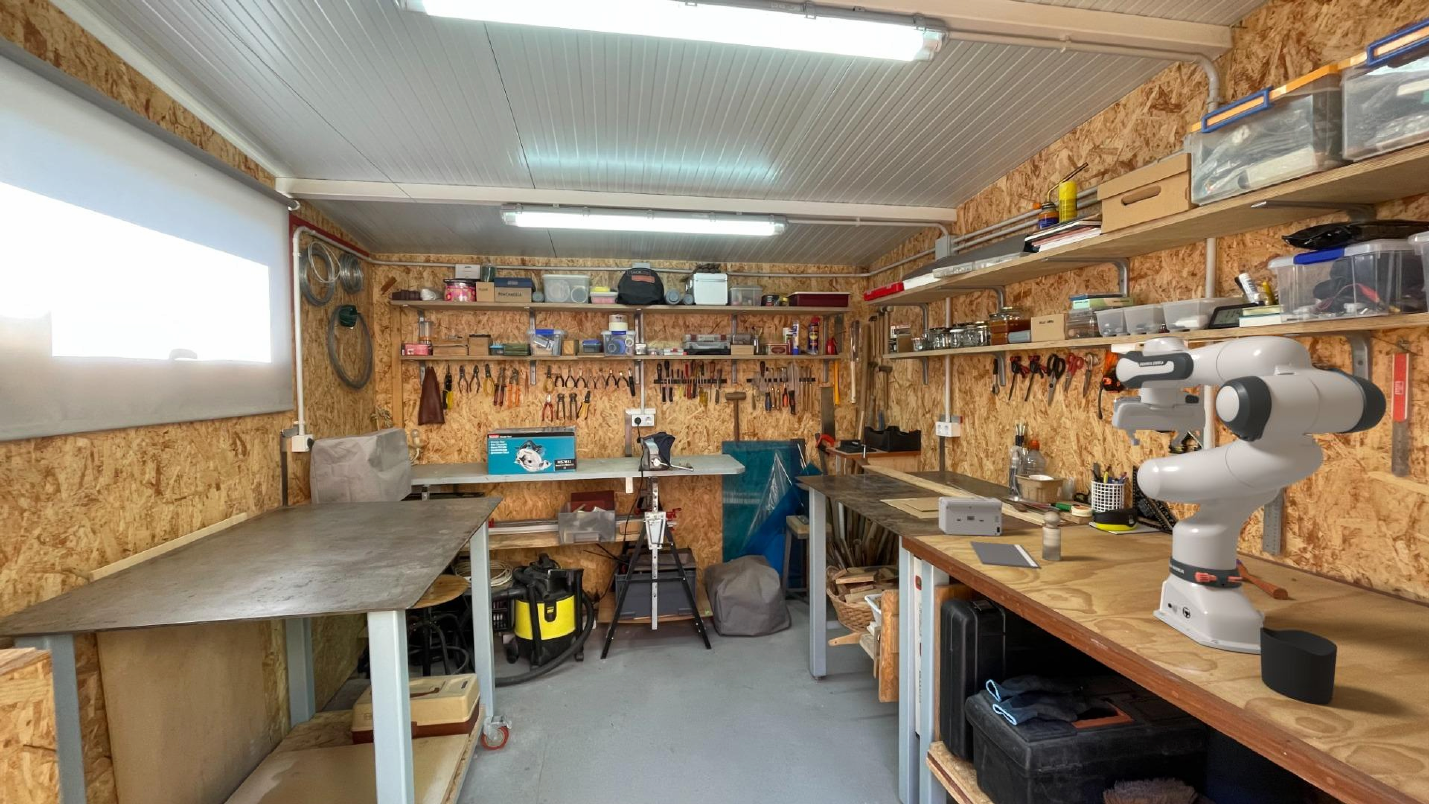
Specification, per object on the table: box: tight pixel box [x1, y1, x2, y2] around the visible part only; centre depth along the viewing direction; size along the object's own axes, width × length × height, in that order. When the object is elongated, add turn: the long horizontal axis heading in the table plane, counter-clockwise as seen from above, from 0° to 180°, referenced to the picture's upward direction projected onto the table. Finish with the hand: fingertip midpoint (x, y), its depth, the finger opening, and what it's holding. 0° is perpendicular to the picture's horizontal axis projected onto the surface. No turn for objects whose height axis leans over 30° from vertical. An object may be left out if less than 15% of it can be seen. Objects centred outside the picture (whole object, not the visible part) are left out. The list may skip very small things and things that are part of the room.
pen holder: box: [1260, 626, 1338, 705], centre depth 96 cm, size 9×9×10 cm
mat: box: [970, 541, 1041, 569], centre depth 172 cm, size 22×16×1 cm
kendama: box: [1236, 558, 1289, 601], centre depth 145 cm, size 6×6×20 cm
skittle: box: [1041, 511, 1062, 562], centre depth 167 cm, size 5×5×15 cm
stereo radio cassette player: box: [938, 481, 1003, 537], centre depth 196 cm, size 21×8×20 cm, turn 82°
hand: (1155, 445), depth 144 cm, fingers open, 8 cm apart
